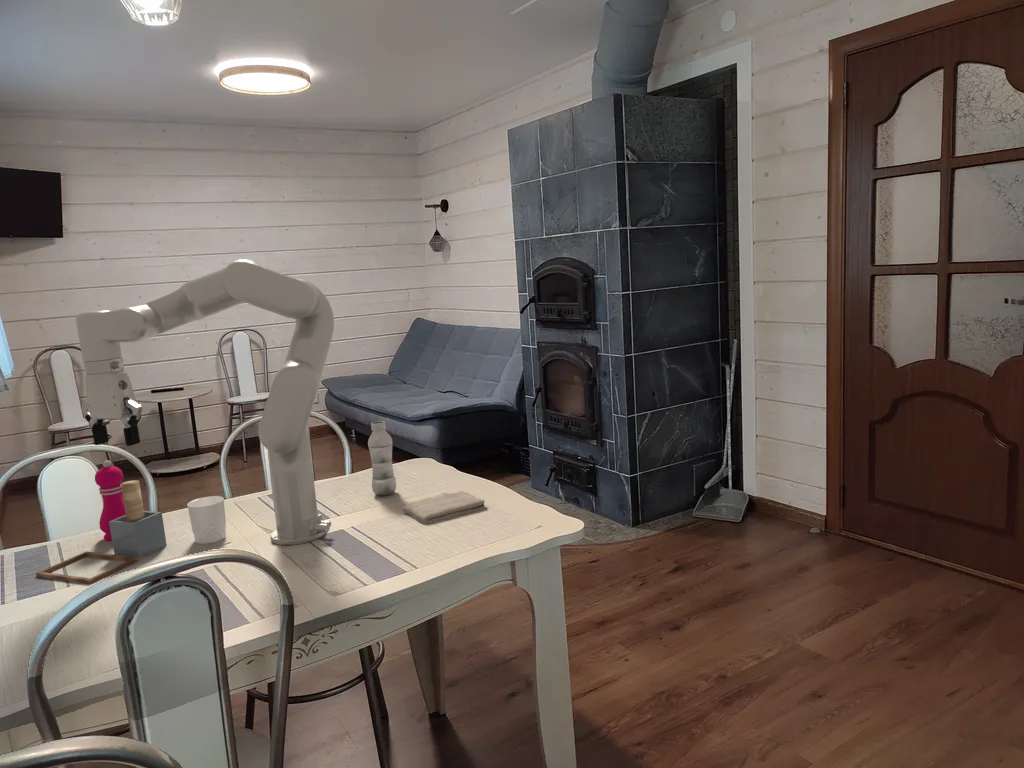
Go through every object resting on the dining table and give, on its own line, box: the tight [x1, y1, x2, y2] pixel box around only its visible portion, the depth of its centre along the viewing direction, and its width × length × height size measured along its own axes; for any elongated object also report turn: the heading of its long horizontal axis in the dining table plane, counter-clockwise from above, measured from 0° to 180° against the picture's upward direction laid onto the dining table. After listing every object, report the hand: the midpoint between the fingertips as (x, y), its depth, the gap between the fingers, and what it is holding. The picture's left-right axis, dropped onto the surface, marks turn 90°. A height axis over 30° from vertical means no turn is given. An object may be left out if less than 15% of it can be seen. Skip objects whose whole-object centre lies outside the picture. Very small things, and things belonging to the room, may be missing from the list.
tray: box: [35, 551, 140, 585], centre depth 159 cm, size 16×12×2 cm
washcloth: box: [402, 490, 486, 525], centre depth 184 cm, size 12×18×3 cm, turn 123°
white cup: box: [186, 495, 227, 545], centre depth 173 cm, size 8×8×10 cm
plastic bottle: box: [367, 420, 397, 496], centre depth 200 cm, size 6×7×20 cm
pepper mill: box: [94, 459, 126, 542], centre depth 177 cm, size 7×7×20 cm
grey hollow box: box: [109, 510, 168, 559], centre depth 168 cm, size 8×8×9 cm
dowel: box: [121, 479, 145, 522], centre depth 167 cm, size 4×4×16 cm
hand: (117, 443), depth 163 cm, fingers open, 9 cm apart
